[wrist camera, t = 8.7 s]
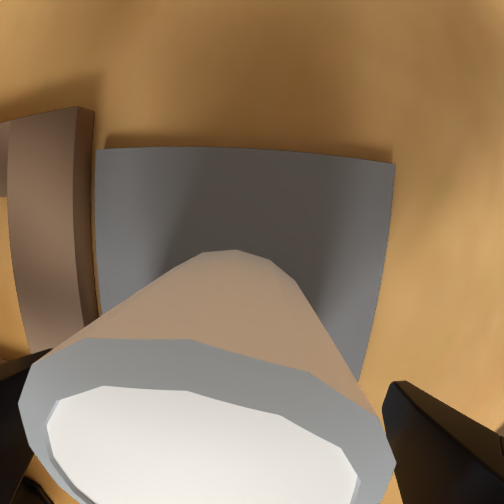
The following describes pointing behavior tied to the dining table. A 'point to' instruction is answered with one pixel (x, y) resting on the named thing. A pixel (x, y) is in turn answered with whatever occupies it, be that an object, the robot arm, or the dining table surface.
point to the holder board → (50, 221)
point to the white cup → (206, 398)
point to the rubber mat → (249, 224)
